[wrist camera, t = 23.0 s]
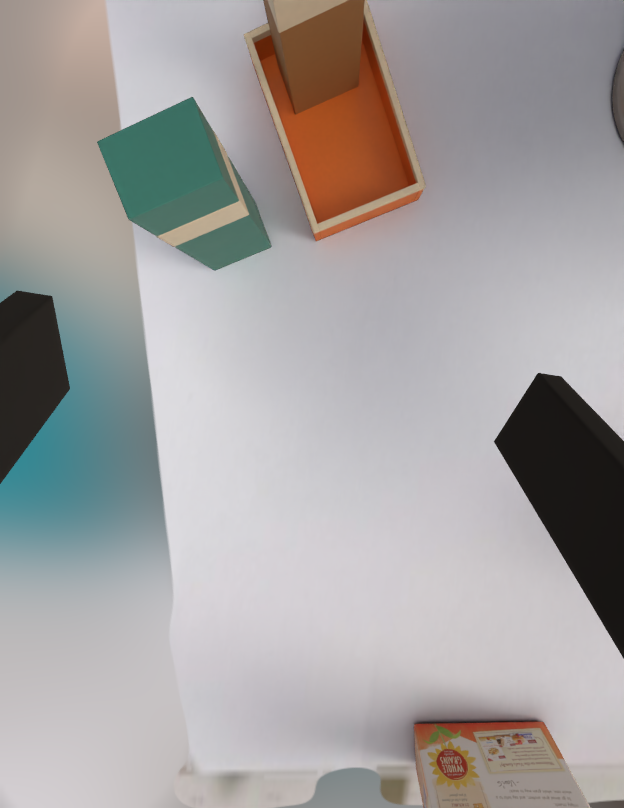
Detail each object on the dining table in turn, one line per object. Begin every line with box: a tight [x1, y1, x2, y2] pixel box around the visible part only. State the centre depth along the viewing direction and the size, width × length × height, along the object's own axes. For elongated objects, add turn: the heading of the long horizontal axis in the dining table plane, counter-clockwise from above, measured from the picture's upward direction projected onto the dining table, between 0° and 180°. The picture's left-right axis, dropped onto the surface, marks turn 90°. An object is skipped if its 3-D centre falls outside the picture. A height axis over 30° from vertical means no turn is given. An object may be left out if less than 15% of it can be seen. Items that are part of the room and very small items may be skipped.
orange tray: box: [244, 0, 426, 241], centre depth 35 cm, size 10×16×3 cm, turn 21°
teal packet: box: [97, 97, 271, 270], centre depth 30 cm, size 6×5×16 cm
